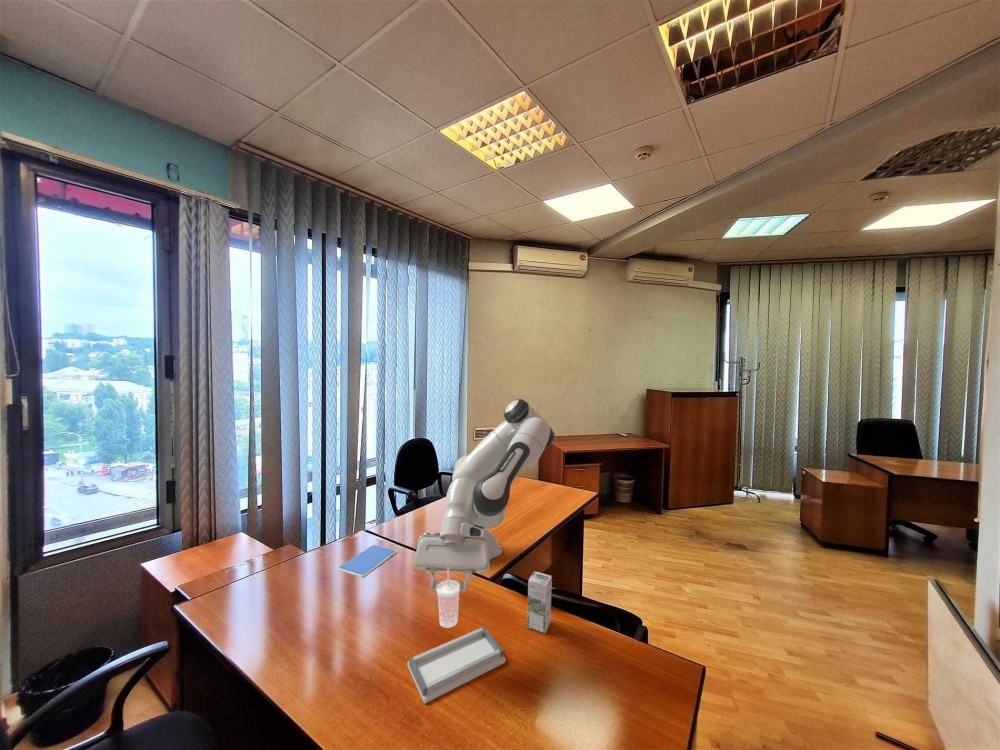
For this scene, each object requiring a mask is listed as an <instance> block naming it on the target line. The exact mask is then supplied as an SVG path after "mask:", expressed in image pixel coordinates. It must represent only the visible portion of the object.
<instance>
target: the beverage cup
mask: <svg viewBox="0 0 1000 750" xmlns="http://www.w3.org/2000/svg"><path fill="white" fill-rule="evenodd" d="M446 572H447V574H446V575H447V576H446V577H447V579H445V580H442V581H440V582H438V585H437V587H436V590H435V591H436V593H437V602H438V617H439V625H440V627H442V628H447V629H450V628H452V627H455V626H456V625H457V623H458V621H459V603H460V602H459V601H460V592H461V591H460V582H459V581H457V580H455V579H450V571H449V567H447V571H446Z"/></svg>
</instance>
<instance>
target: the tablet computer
mask: <svg viewBox="0 0 1000 750" xmlns="http://www.w3.org/2000/svg"><path fill="white" fill-rule="evenodd" d="M395 554H397V550H395V549H393V548H392V549H391V548H386V547H385V546H384V547H383V546H379V545H375V544H373V545H371V546H368V548H366V549H364V550H363V551H361V552H360V553H359V554H357V555H355V556H354V557H352V558H351V559H349V560H348V561H346V562H345V563H343V564H342V565H340V566H339V567H337V571H339V572H341V573H342V572H343V573H346V574H350V575H352V576H356V577H359V578H366V576H368V575H369V574H370V573H372V572H373V571H374V570H375V569H377V568H378V567H380V566H381V565H382V564H383V563H385V562H386V561H387V560H389V559H390V558H392V556H394V555H395Z"/></svg>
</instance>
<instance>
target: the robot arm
mask: <svg viewBox="0 0 1000 750" xmlns="http://www.w3.org/2000/svg"><path fill="white" fill-rule="evenodd" d="M503 417H504V419H505V420H504V421H503V422H501V423H500V424H498V426H496V427H495V428H494V429H493V430H492V431H490V432H489V434H487V435H486V436H485V437H484V438H483V439H482V440H481V441H480V442H479V443H478V444H477V445H476V446H475V448H474V449H473V450H472V451H471V452H470V453H469V454H466V455H463V456H461V457H460V458H458V460H456V462H455V464H454V467H453V468H454V469H453V473H452V475H451V476H452V478H451V480H452V481H451V483H450V484H449V487H448V489H447V493H446V496H445V501H444V515H443V517H442V519H441V524H440V525H441V526H440V531H439V532H433V533H431V532H424V534H421V535H420V536H419V537H418V538H417V544H416V547H417V549H416V551H415V554H414V558H413V562H412V563H413V566H414V567H415V568H416V570H418V571H428V575H429V579H430V590H431V591H437V590H436V587H437V585H438V584H439V581H438V580H436V579H435V577H434V576H435V575H436V573H437V572H439V571H440V572H447V567H449V572H456V573H457V572H459V573H465V576H466V577H465V579H464V580H463V581H460V582H459V583H460V591H459V592H467V585H468V583H469V582H470V580H471V578H473V573H481V574H486V573H488V572H489V571H490V567H491V564H490V563H491V562H490V561H491V560H493V559H494V558H497V557H499V556H500V555H502V554H503V549H502V547H501V546H500V545H499V544H498V542H497V539H496V537H495V535H494V534H493V533H492V532H491V531H490V530H488V529H492V528H496V527H497V526H499V525H500V524H501V523H502V522H503V520H504V518H505V514H506V510H507V506H508V502H509V500H510V496H511V495H510V494H511V487H512V484H513V482H514V481H515V479H516V476H517V475H518V474H519V473H520V472H521V469H524V470H527V469H531V468H532V467H533V466H534V465H535V464H536V463H537V462H538V460H539V459H540V458H541V456H542V454H543V452H544V451H545V449H548V447H549V446H551V444H553V442H554V440H555V433H554V430H553V428H552V427H551V426H550V425H549V423H548V422H547V421H546V420H545V418H543V416H542V415H541V414H539V413H538V412H537V411H536V410H535V408H533V407H532V406H530V404H529V403H528V402H527V401H526V400H524V399H522V398H516V399H515V400H513V401H511V402H510V403H508V405H507V406H506V407H505V410H504V411H503Z"/></svg>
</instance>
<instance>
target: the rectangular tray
mask: <svg viewBox="0 0 1000 750" xmlns="http://www.w3.org/2000/svg"><path fill="white" fill-rule="evenodd" d="M406 662H407V663H406V664H407V668H408V670H409V672H410V675H411V676H412V679H413V681H414V684H415V686H416V688H417V690H418V692H419V695H420V697H421V700H422V702H423V703H424V704H427V703H429V702H431V701H433V700H435V699H436V698H439V697H441V696H442V695H444V694H447V693H448V692H451V691H453V690H454V689H456V688H459V687H460V686H462V685H465V684H466V683H468V682H470V681H472V680H473V679H476V678H477V677H479V676H482V675H483V674H486V673H487V672H489V671H491V670H493V669H495V668H497V667H499V666H501V665H503V664H506V657H505V656H504V649H503V648H502V646H501V645H500V644H499V643H498V641H497V640H496V638H494V636H493V635H492V634H491V633H490V632H489V630H488V629H487V627H485V626H482V627H479V628H478V629H475V630H473V631H471V632H468V633H466V634H464V635H461V636H459V637H457V638H456V637H455V638H454V639H451V640H450V641H448V642H445V643H442V644H440V645H438V646H436V647H433V648H431V649H429V650H426V651H423V652H421V653H420V654H417V655H415V656H412V657H410V658H408V661H406Z"/></svg>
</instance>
